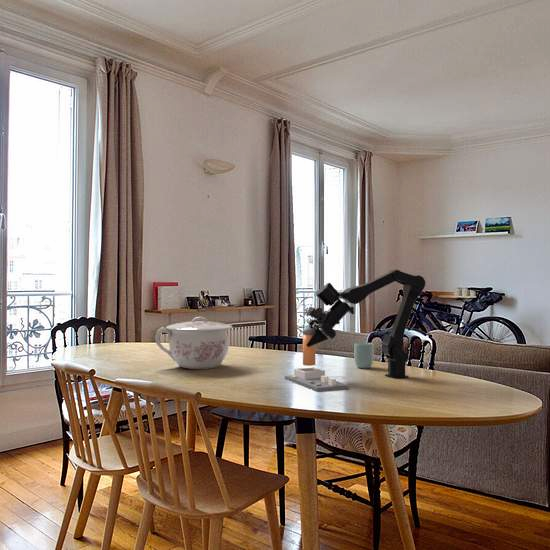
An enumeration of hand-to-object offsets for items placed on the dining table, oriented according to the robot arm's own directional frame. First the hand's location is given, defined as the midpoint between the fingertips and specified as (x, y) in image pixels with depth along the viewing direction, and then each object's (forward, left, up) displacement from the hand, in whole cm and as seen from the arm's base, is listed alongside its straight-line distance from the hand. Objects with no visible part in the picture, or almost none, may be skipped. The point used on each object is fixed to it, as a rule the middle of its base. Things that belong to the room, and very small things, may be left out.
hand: (305, 345), depth 203 cm
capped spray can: (0, -1, -7) cm, 7 cm away
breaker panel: (-8, 0, -12) cm, 15 cm away
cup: (+14, -35, -13) cm, 39 cm away
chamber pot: (+42, +27, -13) cm, 52 cm away
